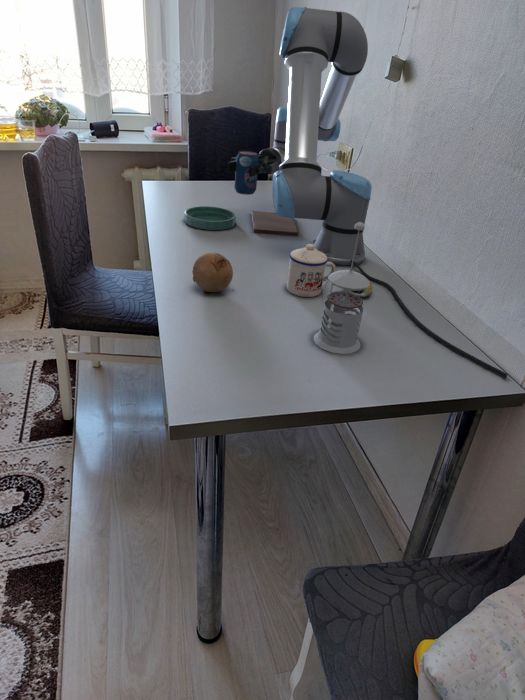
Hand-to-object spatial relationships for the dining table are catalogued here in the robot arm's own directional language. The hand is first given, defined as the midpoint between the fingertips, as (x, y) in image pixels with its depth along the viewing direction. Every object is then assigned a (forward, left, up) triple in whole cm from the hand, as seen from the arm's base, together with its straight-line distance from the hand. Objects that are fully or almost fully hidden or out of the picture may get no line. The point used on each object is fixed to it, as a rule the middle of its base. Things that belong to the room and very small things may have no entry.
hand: (239, 169), depth 151 cm
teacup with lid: (-45, -18, -18) cm, 52 cm away
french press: (-69, -20, -18) cm, 74 cm away
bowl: (+3, +8, -18) cm, 20 cm away
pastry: (-44, -30, -16) cm, 56 cm away
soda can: (+4, -2, -8) cm, 9 cm away
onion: (-48, +6, -18) cm, 52 cm away
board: (+6, -13, -18) cm, 23 cm away
